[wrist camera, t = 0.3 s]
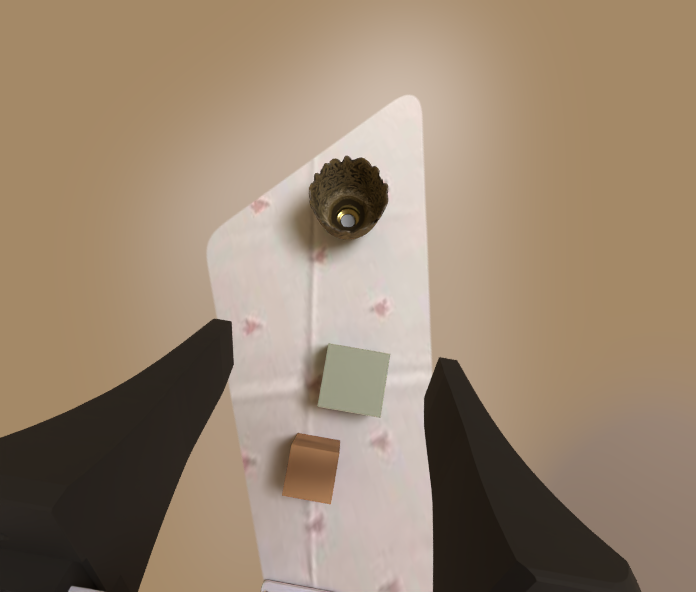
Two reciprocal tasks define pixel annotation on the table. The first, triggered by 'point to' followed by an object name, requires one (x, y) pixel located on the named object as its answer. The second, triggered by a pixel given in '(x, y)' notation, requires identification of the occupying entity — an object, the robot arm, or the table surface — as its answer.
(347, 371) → the grey block
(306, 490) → the walnut block
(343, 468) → the table surface
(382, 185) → the cup
